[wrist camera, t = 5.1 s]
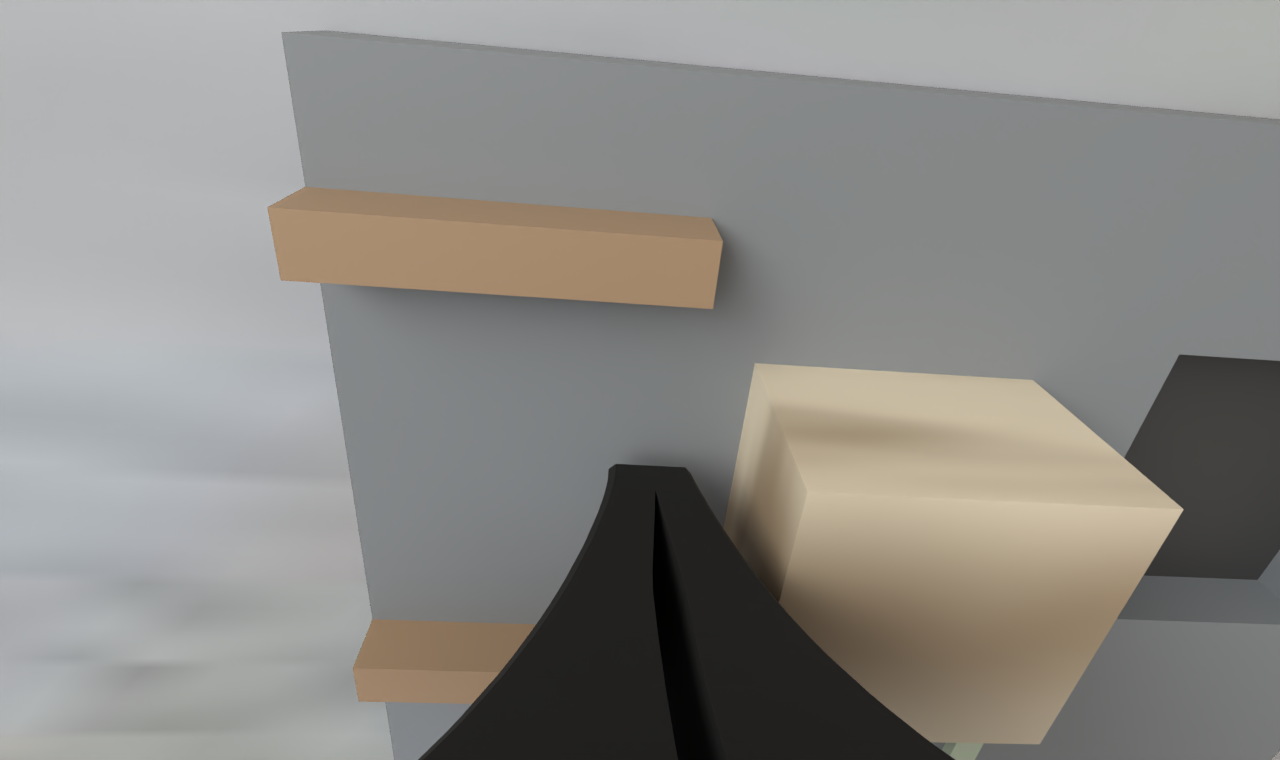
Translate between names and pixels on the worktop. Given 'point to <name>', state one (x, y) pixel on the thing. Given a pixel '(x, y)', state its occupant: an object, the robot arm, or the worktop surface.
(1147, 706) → the slate board
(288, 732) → the worktop surface
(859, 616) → the birch block
